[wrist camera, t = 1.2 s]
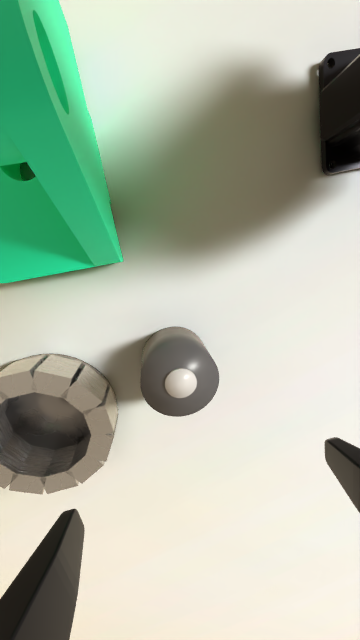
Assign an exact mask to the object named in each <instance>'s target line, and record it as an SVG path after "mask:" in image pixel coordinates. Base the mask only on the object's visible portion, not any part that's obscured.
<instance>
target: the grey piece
mask: <svg viewBox="0 0 360 640" xmlns="http://www.w3.org/2000/svg"><path fill="white" fill-rule="evenodd" d="M117 418H118V407H117V401H116V397H115V394H114V391H113V389H112V387H111V385H110V384H109V382H108V381H107V379H106V378H105V377H104V376H103V375H102V374H101V373H100V372H99V371H98V370H97V369H95V368H94V367H93V366H91V365H89V364H88V363H86V362H84V361H82V360H79V359H77V358H74V357H70V356H66V355H61V354H40V355H34V356H30V357H27V358H24V359H21V360H19V361H15V362H13V363H12V364H9V365H8V366H7V367H5V368H4V369H3V370H2V371H0V486H1V487H2V488H4V489H5V488H6V487H7V486H8V485H9V484H10V483H11V484H10V488H9V490H11V491H19V492H27V493H35V494H43V492H44V489H45V490H46V492H47V494H49V493H53V492H57V491H60V490H64V489H68V488H71V487H75V486H78V484H79V482H80V483H83V482H84V481H86V480H87V479H88V478H89V477H90V476H91V475H93V474H94V473H95V472H96V471H97V470H98V469H100V468H101V467H102V466H103V465H104V461H106V460H107V457H108V454H109V451H110V447H111V444H112V441H113V438H114V433H115V428H116V423H117Z"/></svg>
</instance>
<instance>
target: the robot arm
mask: <svg viewBox="0 0 360 640" xmlns="http://www.w3.org/2000/svg"><path fill="white" fill-rule="evenodd" d="M327 63H329V65H330V68H329V67H328V65H327ZM319 85H320V130H321V155H322V171H323V173H324V174H326V175H330V174H335V173H340V172H345V171H350V170H355V169H360V48H358V49H352V50H345V51H339V52H333V53H329V54H328V55H327V56H326V57H325V58H324V59H323V60H322V61H321V63H320V65H319ZM330 163H331V164H332V168H330V166H329V164H330ZM325 459H326V462H327V464H328V465H329V467H330V468H331V470H332V472H333V473H334V475H335V476H336V478H337V479H338V481H339V482H340V484H341V485H342V487H343V489H344V490H345V492H346V493H347V495H348V496H349V498H350V499H351V501H352V502H353V504H354V505H355V507H356V508H357V510H358V511H359V513H360V448H358V447H356V446H354V445H352V444H350V443H348V442H346V441H343V440H341V439H339V438H336V437H334V438H330V439H327V440H326V441H325ZM83 541H84V525H83V522H82V520H81V518H80V515H79V513H78V511H77V510H76V509H71V510H68V511H65V512H63V513H62V514H61V515H60V517H59V518H58V519H57V521H56V522H55V524H54V525H53V526H52V528H51V529H50V531H49V532H48V533H47V535H46V536H45V538H44V539H43V540H42V542H41V543H40V545H39V546H38V547H37V549H36V550H35V551H34V553H33V554H32V556H31V557H30V558H29V560H28V561H27V563H26V564H25V565H24V567H23V568H22V570H21V571H20V572H19V574H18V575H17V577H16V578H15V579H14V581H13V582H12V583H11V585H10V586H9V588H8V589H7V590H6V592H5V593H4V595H3V596H2V597H1V599H0V640H69V638H70V633H71V628H72V622H73V617H74V612H75V607H76V601H77V595H78V587H79V578H80V569H81V560H82V550H83Z"/></svg>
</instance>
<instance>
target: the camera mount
mask: <svg viewBox="0 0 360 640" xmlns="http://www.w3.org/2000/svg"><path fill="white" fill-rule="evenodd" d="M24 162H27V163H28V165H29V167H30V168H31V170H32V171H33V173H34V174H35V177H34V178H33V179H31V180H28V181H23V180H22V177H21V174H20V164H21V163H24ZM110 204H111V200H110V196H109V192H108V188H107V184H106V179H105V175H104V171H103V167H102V162H101V158H100V154H99V150H98V145H97V141H96V137H95V133H94V128H93V124H92V120H91V117H90V115H89V112H88V110H87V106H86V102H85V97H84V93H83V89H82V85H81V80H80V76H79V72H78V68H77V64H76V59H75V55H74V51H73V47H72V43H71V38H70V34H69V30H68V26H67V23H66V20H65V17H64V15H63V12H62V9H61V6H60V3H59V0H0V283H10V282H15V281H21V280H26V279H31V278H37V277H42V276H47V275H53V274H58V273H64V272H69V271H74V270H80V269H85V268H91V267H96V266H101V265H107V264H112V263H117V262H122V261H123V257H122V253H121V249H120V245H119V240H118V236H117V232H116V228H115V224H114V219H113V215H112V211H111V207H110Z"/></svg>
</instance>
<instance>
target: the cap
mask: <svg viewBox="0 0 360 640" xmlns="http://www.w3.org/2000/svg"><path fill="white" fill-rule="evenodd" d="M218 384H219V372H218V368H217V366H216V364H215V362H214V360H213V359H212V357H211V356H210V354H209V352H208V351H207V349H206V348H205V346H204V344H203V343H202V341H201V340H200V338H199V337H198V336H197V335H196V334H195V333H194V332H192V331H190V330H188V329H186V328H182V327H168V328H164V329H162V330H159V331H158V332H156V333H155V334H153V335H152V336H151V337H150V338H149V340H148V341H147V342H146V344H145V346H144V349H143V353H142V368H141V390H142V394H143V397H144V398H145V400H146V402H147V403H148V404H149V405H150V406H151V407H152V408H153V409H154V410H156V411H158V412H159V413H162V414H164V415H168V416H186V415H190V414H193V413H195V412H197V411H199V410H201V409H202V408H204V407H205V406H206V405H207V404H208V403H209V402H210V401H211V400H212V398H213V397H214V395H215V393H216V391H217V388H218Z"/></svg>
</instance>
